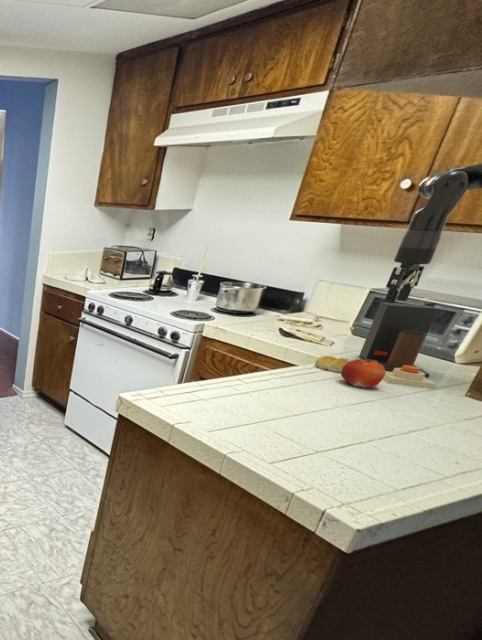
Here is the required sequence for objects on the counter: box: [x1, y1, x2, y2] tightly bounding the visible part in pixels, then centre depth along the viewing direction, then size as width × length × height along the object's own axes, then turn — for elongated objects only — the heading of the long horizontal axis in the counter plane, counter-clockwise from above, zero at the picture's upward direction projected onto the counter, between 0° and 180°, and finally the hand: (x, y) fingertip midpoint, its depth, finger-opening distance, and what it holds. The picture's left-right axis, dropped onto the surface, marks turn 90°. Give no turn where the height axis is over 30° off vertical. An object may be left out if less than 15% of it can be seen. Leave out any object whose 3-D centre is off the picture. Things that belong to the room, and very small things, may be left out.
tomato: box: [340, 358, 385, 389], centre depth 138 cm, size 9×9×8 cm
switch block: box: [382, 368, 436, 390], centre depth 142 cm, size 10×8×4 cm
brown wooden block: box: [387, 330, 428, 368], centre depth 149 cm, size 8×6×12 cm
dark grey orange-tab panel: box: [358, 301, 439, 379], centre depth 151 cm, size 17×12×20 cm
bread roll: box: [314, 355, 350, 373], centre depth 153 cm, size 8×9×4 cm
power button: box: [401, 365, 421, 374], centre depth 141 cm, size 4×4×2 cm
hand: (395, 301), depth 143 cm, fingers open, 8 cm apart
